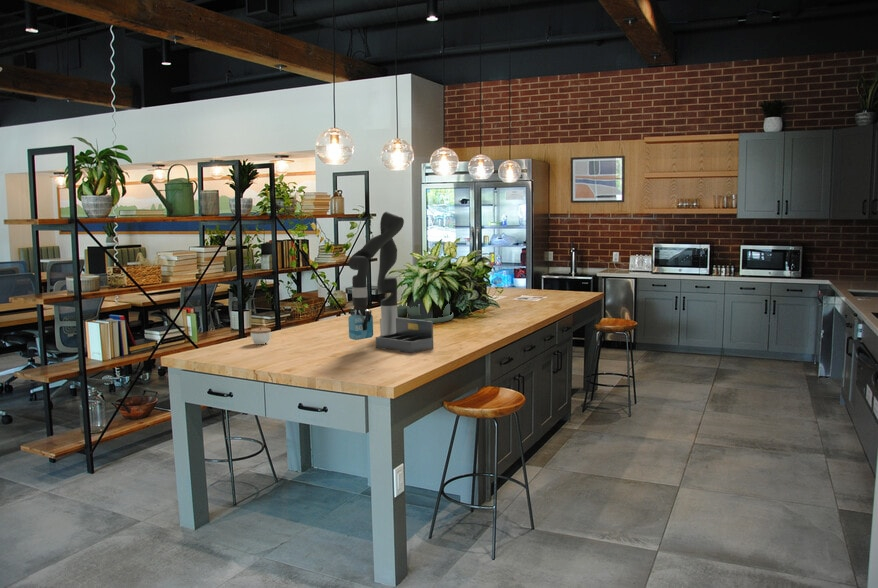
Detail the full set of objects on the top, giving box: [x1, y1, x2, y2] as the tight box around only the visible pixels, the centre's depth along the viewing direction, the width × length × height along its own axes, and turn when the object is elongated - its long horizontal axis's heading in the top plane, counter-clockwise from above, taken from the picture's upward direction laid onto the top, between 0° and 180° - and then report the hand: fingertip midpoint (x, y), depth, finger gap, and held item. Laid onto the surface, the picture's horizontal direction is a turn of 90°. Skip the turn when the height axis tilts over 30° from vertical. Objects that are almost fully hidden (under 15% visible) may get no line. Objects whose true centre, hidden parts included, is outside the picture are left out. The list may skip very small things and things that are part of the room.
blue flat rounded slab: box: [347, 313, 374, 341], centre depth 350 cm, size 12×4×12 cm, turn 133°
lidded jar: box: [249, 326, 272, 345], centre depth 376 cm, size 11×11×9 cm
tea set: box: [397, 303, 454, 324], centre depth 450 cm, size 40×40×16 cm
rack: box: [375, 318, 434, 354], centre depth 355 cm, size 25×16×14 cm, turn 50°
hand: (361, 329), depth 350 cm, fingers closed on blue flat rounded slab, 4 cm apart
